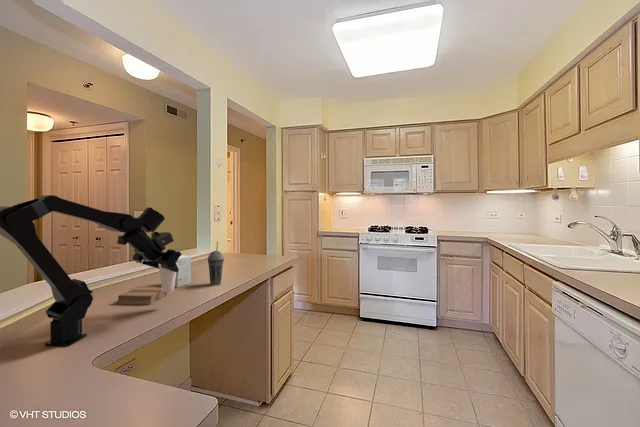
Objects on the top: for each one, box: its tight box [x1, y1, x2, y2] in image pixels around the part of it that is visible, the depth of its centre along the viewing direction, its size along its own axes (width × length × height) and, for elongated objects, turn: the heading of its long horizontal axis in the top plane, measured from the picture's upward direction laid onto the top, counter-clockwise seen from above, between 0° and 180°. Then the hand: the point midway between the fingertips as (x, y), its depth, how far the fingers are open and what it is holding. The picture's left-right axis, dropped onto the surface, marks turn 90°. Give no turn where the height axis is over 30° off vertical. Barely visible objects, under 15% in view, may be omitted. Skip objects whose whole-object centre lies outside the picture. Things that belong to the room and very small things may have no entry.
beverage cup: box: [207, 241, 225, 286], centre depth 140 cm, size 7×7×20 cm
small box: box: [174, 254, 192, 288], centre depth 138 cm, size 8×6×13 cm
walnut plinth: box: [117, 286, 168, 305], centre depth 118 cm, size 12×12×3 cm
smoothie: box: [158, 263, 178, 293], centre depth 108 cm, size 6×6×14 cm
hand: (171, 270), depth 109 cm, fingers closed on smoothie, 6 cm apart
